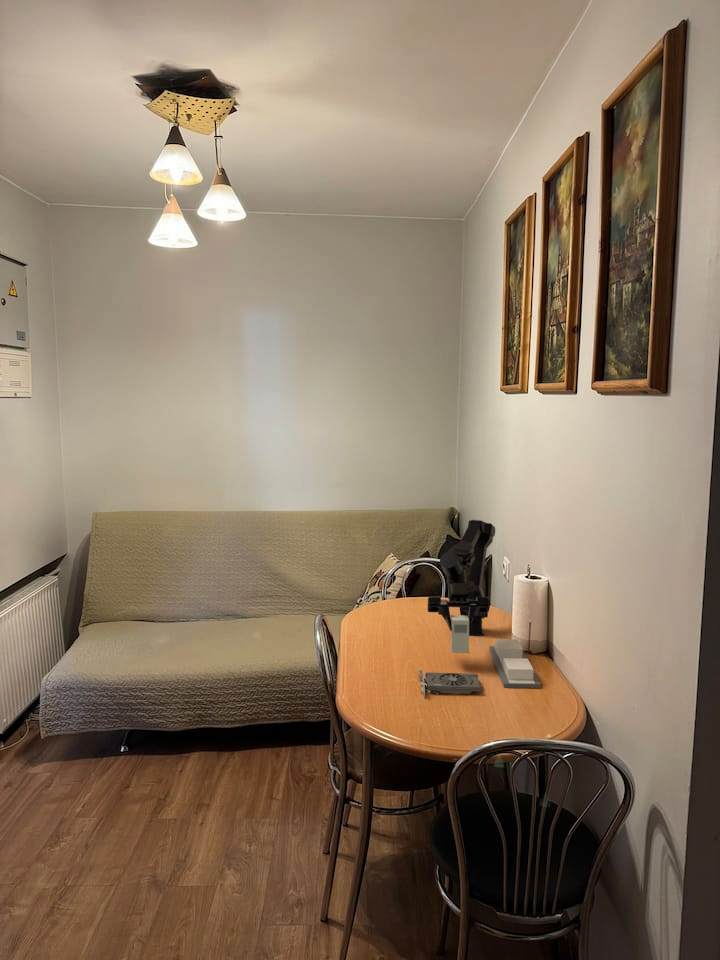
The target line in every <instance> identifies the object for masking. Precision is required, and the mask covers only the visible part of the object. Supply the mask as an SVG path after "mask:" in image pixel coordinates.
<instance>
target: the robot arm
mask: <svg viewBox="0 0 720 960" xmlns="http://www.w3.org/2000/svg"><path fill="white" fill-rule="evenodd" d="M463 533H464V534H463V535H462V538H461V539H460V541H459V542H458V543H456V544H454V545H453V546H452V547H451V549H450V548H449V549H448V551H447V552H445V553H443V554H442V555H441V557H440V558H439V564H440V566H441V568H442V570H443V573H444V574H445V575H446V577H447V591H448V592H447V593H448V600H447V599H442V596H441V595H440V596H439V595H437V596H431V595H430V596H428V598H427V605H426V606H427V612H429V613H438V615H441V617H443V619H444V621H445V623H446V625H447V626H448V628H449V630H450V632H451V631H452V623H451V613H450V608H459V613H460V614H459V615H464V616H468V619H469V636H484V635H485V632H484V629H483V619H485V618H488V617H489V613H490V607H491V599H490V598H489V596H485V594H484V592H483V590H482V587H483V580H484V572H485V564H486V559H487V557H486V556H487V549H488V548H489V546H490V545H492V543H493V540H494V538H495V535H496V527H495V526H494V525H493V523H491V522H485V521H483V520H480V519H478V520H477V519H470V520H468V523H467V528H466V529H465V532H463ZM465 568H470V570H469V577H468V581H467V578H466V570H465Z"/></svg>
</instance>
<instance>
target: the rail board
mask: <svg viewBox="0 0 720 960" xmlns="http://www.w3.org/2000/svg"><path fill="white" fill-rule="evenodd" d="M488 650H489V652H490V655H491V658H492V660H493V663H494V666H495V668H496V671H497V673H498V676H499V679H500V680H501V683H502V685H503V686H502V687H503V688H504V689H505V688H510V689H512V688H513V689H541V682H540V680H539V679H538V677H537V675H536V673H535V670H534V668H533V666H532V664H531V662H530V661H529V659H528V658H527V656H526V654H525V653H524V650H523V648H522V645H521V643H520V642H519V640H518V639H511V638H509V639H507V638H505V639H503V638H499V639H498V638H495V639H494V645H491V646H490V645H489V646H488Z"/></svg>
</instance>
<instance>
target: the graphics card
mask: <svg viewBox="0 0 720 960" xmlns="http://www.w3.org/2000/svg"><path fill="white" fill-rule="evenodd" d="M424 674H425V677H424ZM418 679H420V680H419V681H421V682H420V689H421V694H422V695H423V696H424V699H425V697H426V695H425V694H427V693H429V694H431V693H434V694H435V695H440V694H468V695H469V694H471V693H473V692H481V691H482V685H481V680H480V679H479V675H478V673H465V672H464V673H463V672H460V673H458V672H429V671H428V672H425V673H424V670H423V669H419V670H418ZM422 681H423V682H422ZM424 683H426V684H427V687H426V685H425V684H424ZM425 688H426V689H425ZM428 691H431V692H428ZM432 691H433V692H432Z"/></svg>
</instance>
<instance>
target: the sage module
mask: <svg viewBox="0 0 720 960" xmlns="http://www.w3.org/2000/svg"><path fill="white" fill-rule="evenodd" d="M450 618H451V623H452V631H450V651H451V653H452V654H469V653H470V635H469V619H468V616H465V615H460V614H459V615H455V614H453V615H451V614H450Z"/></svg>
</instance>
